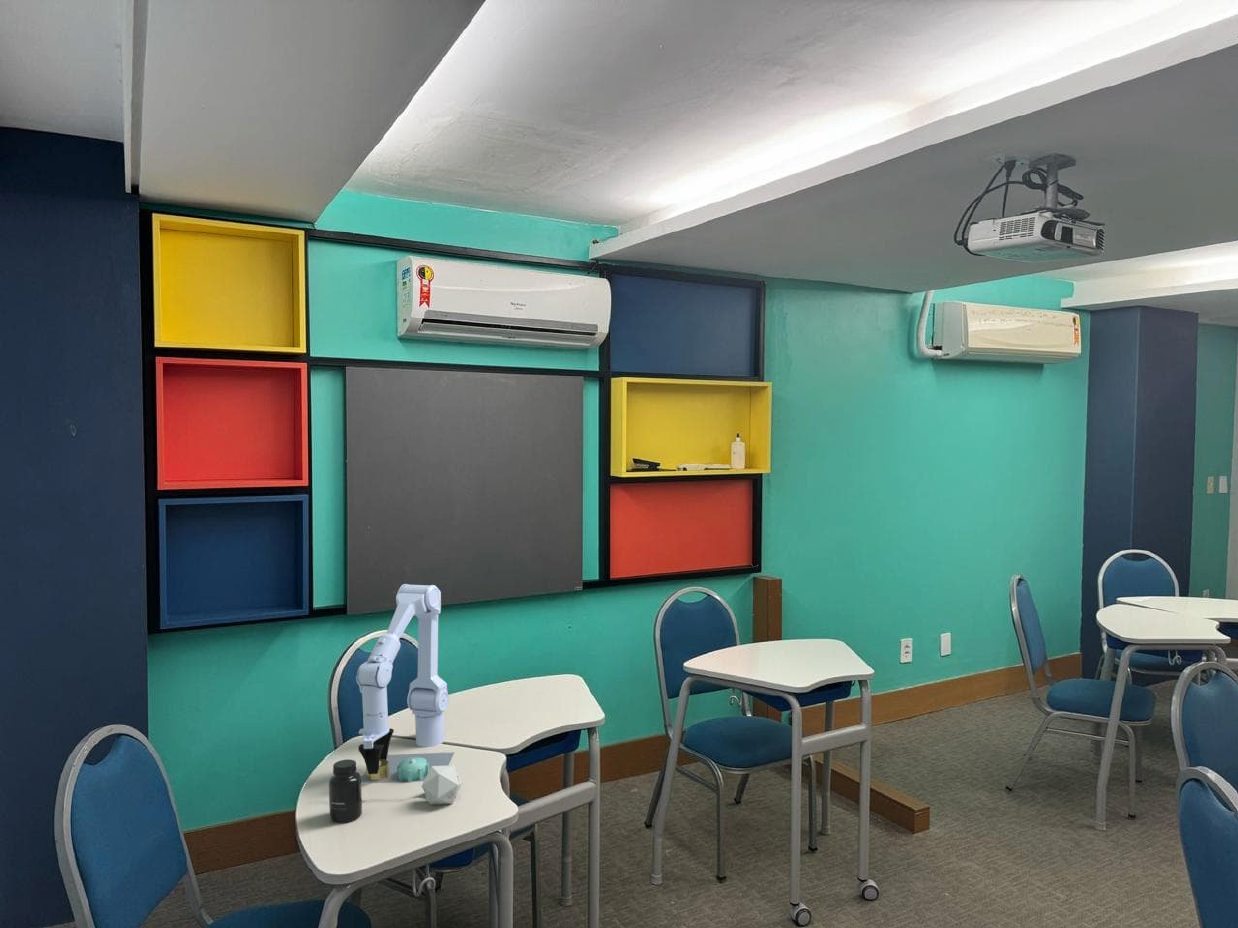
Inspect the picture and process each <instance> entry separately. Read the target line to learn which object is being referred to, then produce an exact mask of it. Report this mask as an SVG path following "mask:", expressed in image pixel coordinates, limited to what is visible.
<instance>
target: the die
mask: <svg viewBox="0 0 1238 928" xmlns="http://www.w3.org/2000/svg"><path fill="white" fill-rule="evenodd" d="M462 784H463V782H462V781H461V778H460V776H459V774H458V772H457V770H456V768H455V765H453V764H452V765H450V764H449V765H448V766H431V768H430V770H429V772H428V774H427V776H426V778H425V780H424V781H422V785H421V788H422V790H423V791H424V794H425V796H426V799H427V801H428V803H429V805H431V806H432V805H453V804H454V802H455V799H456V797H457V795H458V793H459V791H460V790H461V789H460V788H461V787H462Z"/></svg>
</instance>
